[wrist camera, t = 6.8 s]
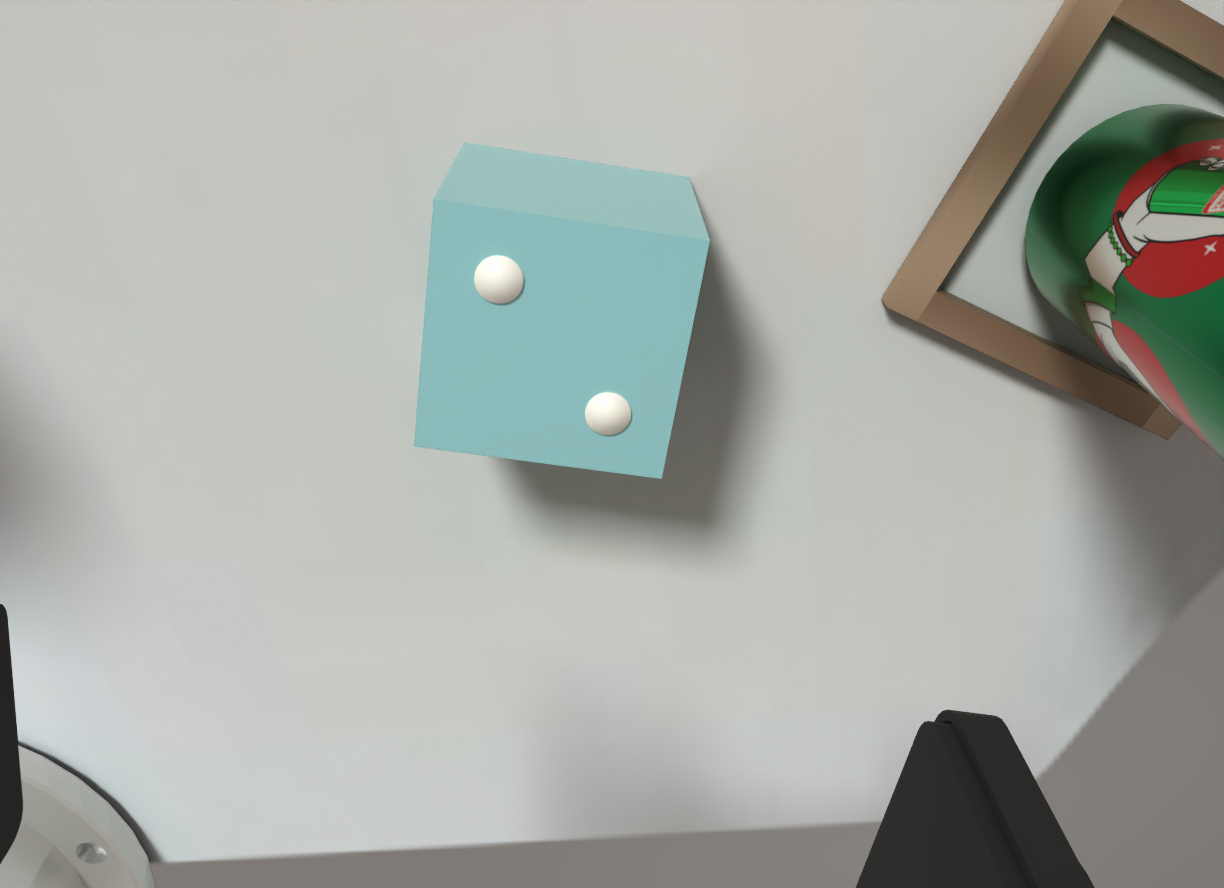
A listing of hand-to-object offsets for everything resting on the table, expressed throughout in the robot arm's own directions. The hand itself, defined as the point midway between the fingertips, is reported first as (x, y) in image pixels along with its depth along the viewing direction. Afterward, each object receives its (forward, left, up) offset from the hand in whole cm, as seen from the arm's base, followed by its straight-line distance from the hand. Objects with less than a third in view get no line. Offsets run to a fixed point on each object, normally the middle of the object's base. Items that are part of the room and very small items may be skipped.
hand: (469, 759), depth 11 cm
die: (0, 0, -16) cm, 15 cm away
